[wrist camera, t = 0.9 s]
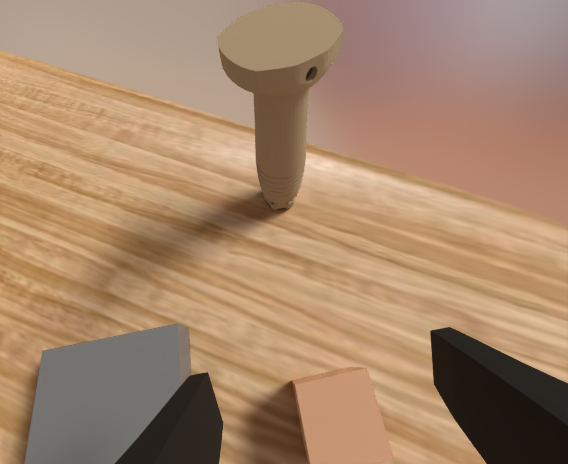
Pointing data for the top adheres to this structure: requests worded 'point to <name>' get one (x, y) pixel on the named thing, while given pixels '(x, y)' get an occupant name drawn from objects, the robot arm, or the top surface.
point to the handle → (280, 84)
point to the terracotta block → (341, 418)
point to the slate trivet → (104, 394)
